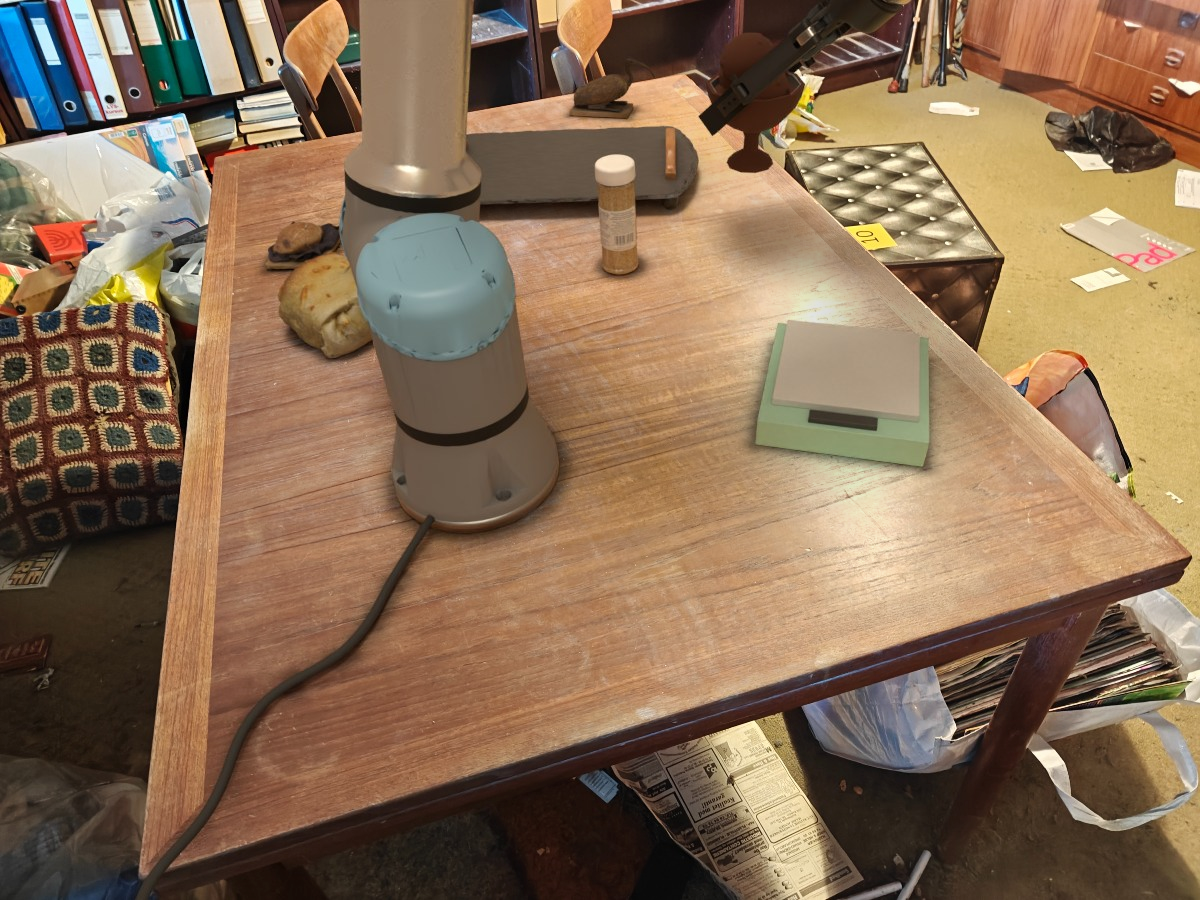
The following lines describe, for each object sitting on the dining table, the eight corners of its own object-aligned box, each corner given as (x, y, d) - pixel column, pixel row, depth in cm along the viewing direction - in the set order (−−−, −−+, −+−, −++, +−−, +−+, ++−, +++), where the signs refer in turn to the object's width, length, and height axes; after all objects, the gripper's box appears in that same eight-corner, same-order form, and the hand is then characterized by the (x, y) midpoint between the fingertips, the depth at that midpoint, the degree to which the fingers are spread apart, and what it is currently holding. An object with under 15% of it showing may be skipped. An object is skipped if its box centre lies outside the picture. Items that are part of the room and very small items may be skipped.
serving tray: (415, 223, 117) (406, 180, 112) (447, 151, 134) (440, 111, 129) (700, 214, 113) (701, 170, 109) (696, 142, 130) (696, 101, 126)
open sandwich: (322, 273, 109) (313, 247, 106) (260, 271, 110) (250, 245, 107) (351, 231, 116) (344, 206, 114) (293, 230, 117) (285, 205, 115)
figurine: (658, 109, 141) (657, 54, 135) (652, 120, 138) (651, 64, 132) (577, 105, 144) (573, 51, 138) (569, 116, 141) (565, 61, 135)
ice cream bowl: (795, 184, 98) (809, 47, 88) (698, 180, 101) (702, 46, 90) (798, 146, 106) (811, 16, 96) (708, 143, 108) (712, 15, 98)
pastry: (302, 294, 105) (282, 235, 99) (403, 289, 104) (388, 229, 99) (271, 364, 94) (246, 302, 89) (383, 358, 94) (365, 295, 89)
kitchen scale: (922, 467, 77) (931, 435, 74) (755, 444, 80) (757, 413, 78) (922, 361, 88) (930, 330, 85) (775, 345, 91) (778, 315, 89)
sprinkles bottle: (637, 255, 107) (633, 151, 98) (639, 274, 103) (636, 168, 94) (600, 258, 107) (593, 154, 98) (602, 277, 104) (594, 171, 94)
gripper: (854, 43, 77) (700, 172, 94) (944, -23, 90) (795, 100, 108) (806, -29, 75) (659, 115, 93) (904, -85, 89) (760, 50, 107)
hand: (732, 107), depth 100 cm, fingers closed on ice cream bowl, 11 cm apart
